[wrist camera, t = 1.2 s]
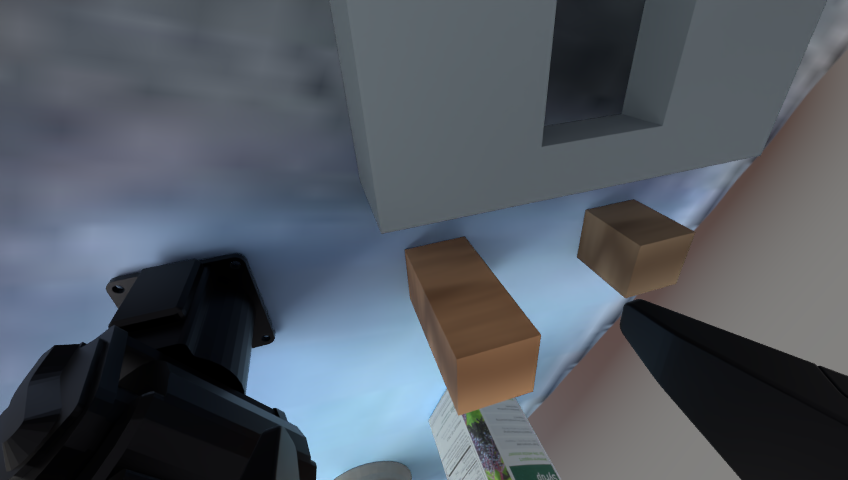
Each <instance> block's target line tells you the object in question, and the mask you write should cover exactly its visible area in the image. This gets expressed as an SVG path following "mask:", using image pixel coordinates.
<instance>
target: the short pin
mask: <svg viewBox="0 0 848 480" xmlns="http://www.w3.org/2000/svg"><path fill="white" fill-rule="evenodd" d="M694 235H695V232H694V231H692V230H690V229H688V228H687V227H685V226H683V225H681V224H679V223H677V222H675V221H674V220H672V219H670V218H668V217H666V216H664V215H662V214H660V213H659V212H657V211H655V210H653V209H651V208H649V207H647V206H646V205H644V204H642V203H640V202H638V201H636V200H634V199H633V200H628V201H624V202H619V203H615V204H610V205H606V206H601V207H596V208H592V209H587V210H586V211H585V216H584V221H583V227H582V232H581V238H580V243H579V249H578V254H577V258H579V259H580V260H581V261H582V262H583V263H584V264H586V265H587V266H588V267H589V268H590V269H591V270H593V271H594V272H595V273H596V274H597V275H599V276H600V277H601V278H602V279H603V280H604V281H606V282H607V283H608V284H609V285H610V286H611V287H613V288H614V289H615V290H616V291H617V292H619V293H620V294H621V295H622V296H623V297H624V298H628V297H632V296H635V295H639V294H642V293H646V292H649V291H652V290H656V289H660V288H663V287H666V286H670V285H674V284H676V283H677V280H678V277H679V275H680V272H681V269H682V266H683V264H684V261H685V259H686V256H687V253H688V251H689V248H690V245H691V242H692V240H693V237H694Z"/></svg>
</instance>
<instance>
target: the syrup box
mask: <svg viewBox="0 0 848 480" xmlns="http://www.w3.org/2000/svg"><path fill="white" fill-rule="evenodd" d="M429 424H430V427H431V430H432V433H433V436H434V439H435V442H436V445H437V448H438V452H439V455H440V458H441V461H442V464H443V467H444V470H445V473H446V477H447V480H561V478H560V476H559V475H558V473H557V471H556V469H555V467H554V466H553V464H552V462H551V460H550V459H549V457H548V455H547V453H546V452H545V450H544V448H543V446H542V444H541V443H540V441H539V439H538V438H537V436H536V434H535V432H534V430H533V429H532V427H531V425H530V424H529V421H528V420H527V418H526V416H525V414H524V413H523V411H522V409H521V407H520V405H519V404H518V402H517V400H516V398H511V399H508V400H505V401H502V402H499V403H496V404H493V405H490V406H487V407H484V408H481V409H478V410H475V411H472V412H469V413H466V414H462V415H459V416H458V414H457V411H456V409H455V407H454V404H453V402H452V399H451V397H450V394H449V392H448V390H447V389H446V391H445V393H444V394H443V396H442V398H441V400H440V401H439V403H438V405H437V406H436V408H435V410H434V412H433V413H432V415H431V417H430V419H429Z"/></svg>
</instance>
